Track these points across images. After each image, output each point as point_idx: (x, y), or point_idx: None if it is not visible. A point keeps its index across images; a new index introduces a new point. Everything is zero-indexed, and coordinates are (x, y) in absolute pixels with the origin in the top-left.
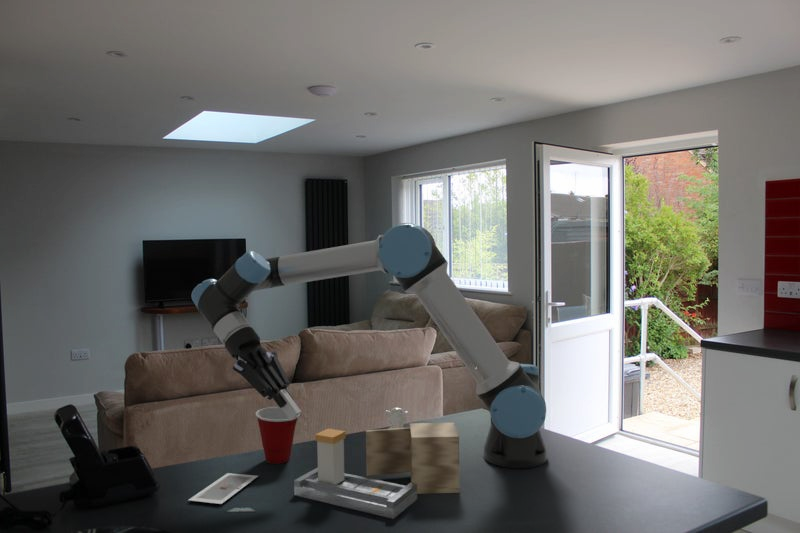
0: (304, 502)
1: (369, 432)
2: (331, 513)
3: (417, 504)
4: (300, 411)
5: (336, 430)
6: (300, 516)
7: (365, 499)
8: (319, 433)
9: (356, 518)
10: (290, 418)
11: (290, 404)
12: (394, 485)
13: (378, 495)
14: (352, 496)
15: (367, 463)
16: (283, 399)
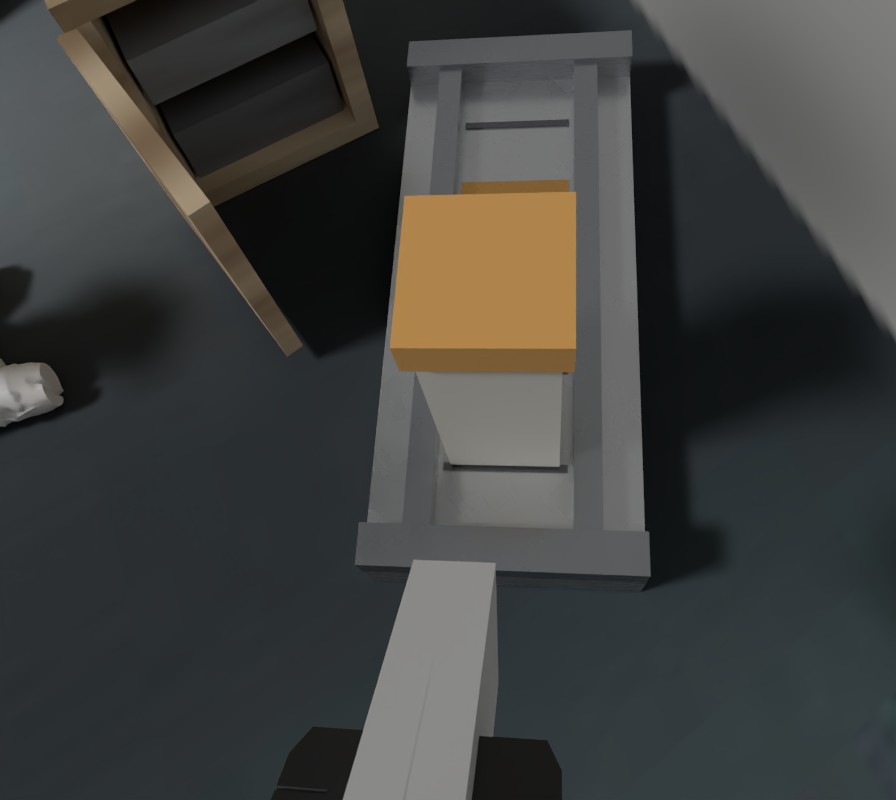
0: (686, 486)
1: (202, 194)
2: (716, 304)
3: None
4: (427, 563)
5: (411, 262)
6: (825, 408)
7: (607, 177)
8: (537, 333)
9: (698, 194)
10: (495, 681)
11: (484, 662)
12: (457, 110)
13: (589, 113)
14: (608, 238)
15: (281, 312)
16: (491, 798)
